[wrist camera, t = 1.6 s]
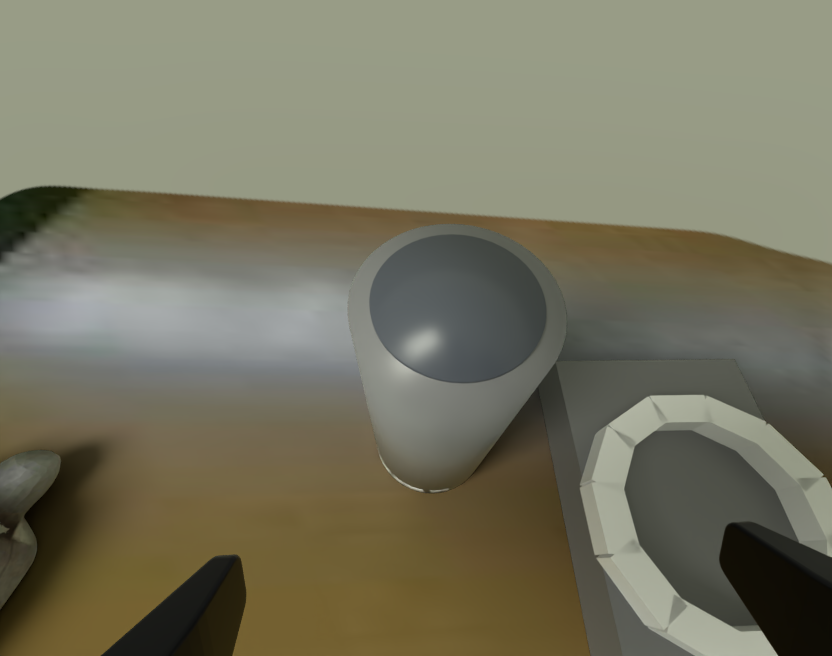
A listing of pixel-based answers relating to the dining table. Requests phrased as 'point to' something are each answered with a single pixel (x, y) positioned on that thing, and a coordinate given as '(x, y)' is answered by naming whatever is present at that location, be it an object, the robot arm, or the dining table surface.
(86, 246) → the dining table surface
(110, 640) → the dining table surface
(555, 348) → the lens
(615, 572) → the grey rectangular block
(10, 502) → the handheld device
